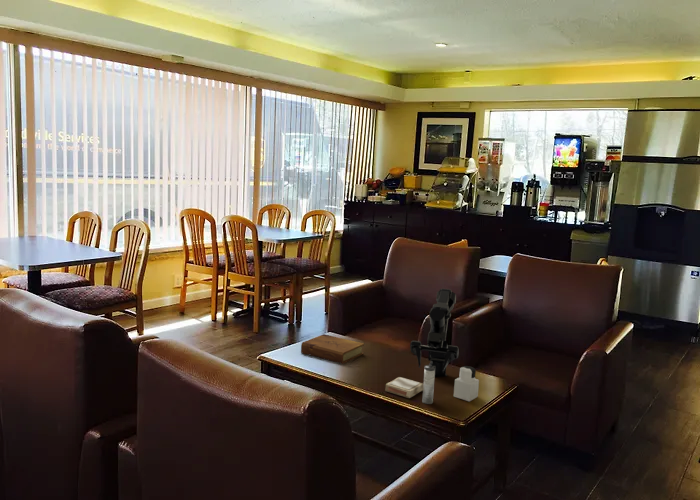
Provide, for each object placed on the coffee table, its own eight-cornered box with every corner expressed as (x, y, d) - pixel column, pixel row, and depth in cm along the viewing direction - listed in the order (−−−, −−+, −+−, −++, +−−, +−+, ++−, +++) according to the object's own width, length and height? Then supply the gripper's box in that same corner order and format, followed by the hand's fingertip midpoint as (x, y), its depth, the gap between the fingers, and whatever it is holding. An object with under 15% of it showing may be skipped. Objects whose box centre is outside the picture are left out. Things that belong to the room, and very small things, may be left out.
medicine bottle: (461, 391, 231) (464, 363, 230) (477, 396, 227) (480, 367, 225) (453, 396, 226) (455, 367, 224) (469, 402, 221) (471, 372, 220)
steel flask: (430, 399, 222) (433, 364, 220) (434, 404, 218) (437, 368, 216) (420, 399, 221) (423, 364, 219) (423, 404, 217) (426, 368, 215)
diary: (300, 354, 269) (301, 342, 268) (323, 345, 284) (323, 334, 284) (342, 365, 257) (342, 352, 256) (363, 354, 273) (363, 343, 272)
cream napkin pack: (399, 383, 237) (399, 376, 237) (422, 390, 231) (423, 382, 230) (384, 391, 228) (385, 383, 227) (409, 398, 222) (409, 390, 221)
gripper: (412, 320, 227) (405, 355, 218) (460, 326, 223) (455, 362, 213) (414, 334, 236) (407, 369, 227) (460, 340, 231) (455, 375, 222)
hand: (431, 368), depth 222 cm, fingers open, 9 cm apart
